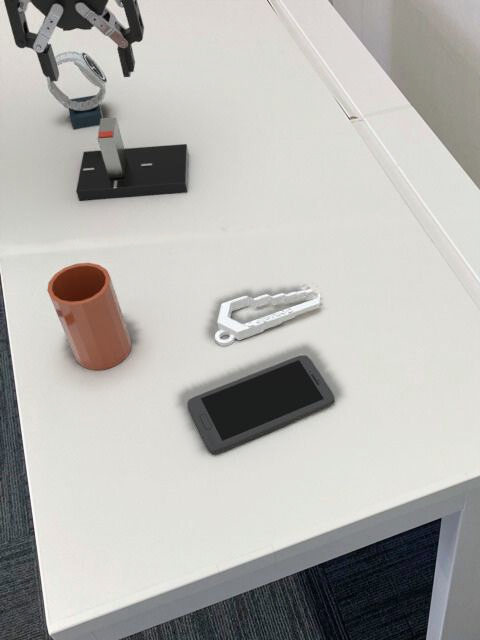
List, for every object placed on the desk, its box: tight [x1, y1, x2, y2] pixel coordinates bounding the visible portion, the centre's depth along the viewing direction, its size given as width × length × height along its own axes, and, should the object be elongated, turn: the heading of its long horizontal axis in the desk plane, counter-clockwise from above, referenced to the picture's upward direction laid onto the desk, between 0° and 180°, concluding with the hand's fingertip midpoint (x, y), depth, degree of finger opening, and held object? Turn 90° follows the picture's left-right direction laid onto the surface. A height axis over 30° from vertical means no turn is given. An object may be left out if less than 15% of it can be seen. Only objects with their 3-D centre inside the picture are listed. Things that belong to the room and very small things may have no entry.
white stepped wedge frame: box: [214, 288, 322, 347], centre depth 88 cm, size 13×5×2 cm, turn 117°
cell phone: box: [187, 354, 336, 455], centre depth 79 cm, size 7×14×1 cm, turn 118°
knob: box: [97, 117, 126, 178], centre depth 100 cm, size 5×2×6 cm, turn 8°
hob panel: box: [75, 143, 190, 202], centre depth 104 cm, size 14×9×3 cm, turn 97°
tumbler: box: [46, 262, 132, 371], centre depth 81 cm, size 6×6×10 cm
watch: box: [46, 51, 108, 131], centre depth 111 cm, size 6×8×11 cm
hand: (91, 76), depth 92 cm, fingers open, 8 cm apart
